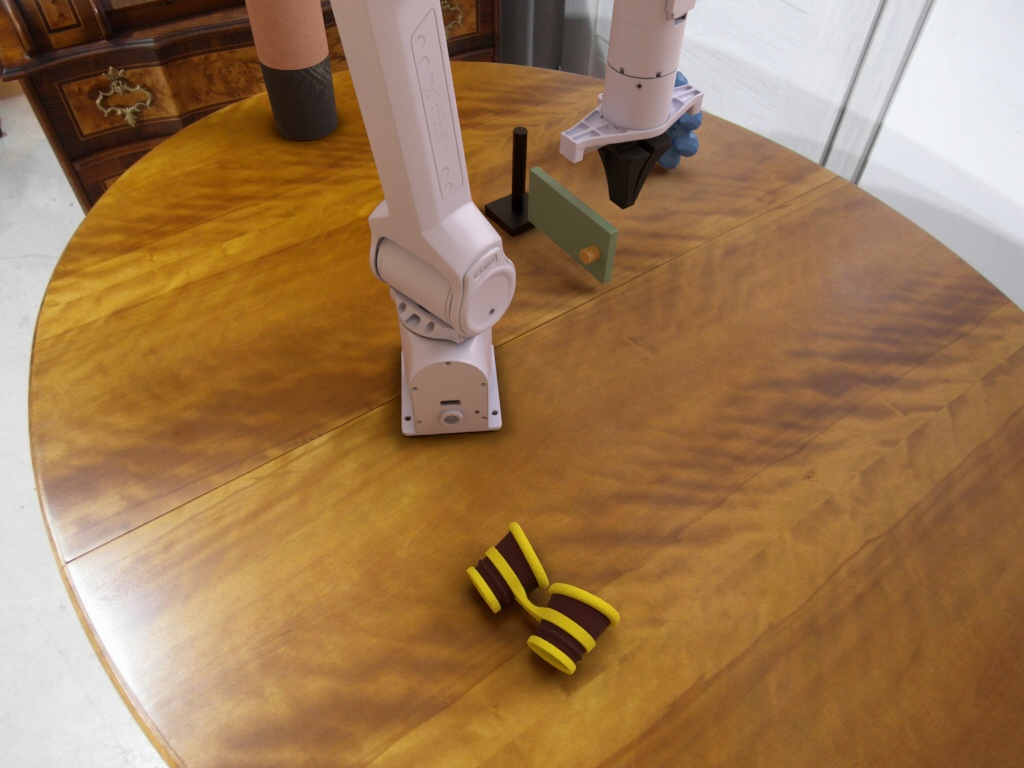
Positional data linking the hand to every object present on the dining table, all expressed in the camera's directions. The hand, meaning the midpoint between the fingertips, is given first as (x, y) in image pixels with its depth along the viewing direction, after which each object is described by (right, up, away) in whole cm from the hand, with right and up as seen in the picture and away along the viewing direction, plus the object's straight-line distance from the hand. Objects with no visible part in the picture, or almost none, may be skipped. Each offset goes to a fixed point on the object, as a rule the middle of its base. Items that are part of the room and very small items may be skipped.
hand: (621, 202), depth 73 cm
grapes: (+4, +8, +15) cm, 18 cm away
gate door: (-5, -4, +3) cm, 7 cm away
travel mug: (-35, +14, +19) cm, 42 cm away
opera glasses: (-9, -33, -20) cm, 39 cm away
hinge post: (-10, 0, +8) cm, 13 cm away
